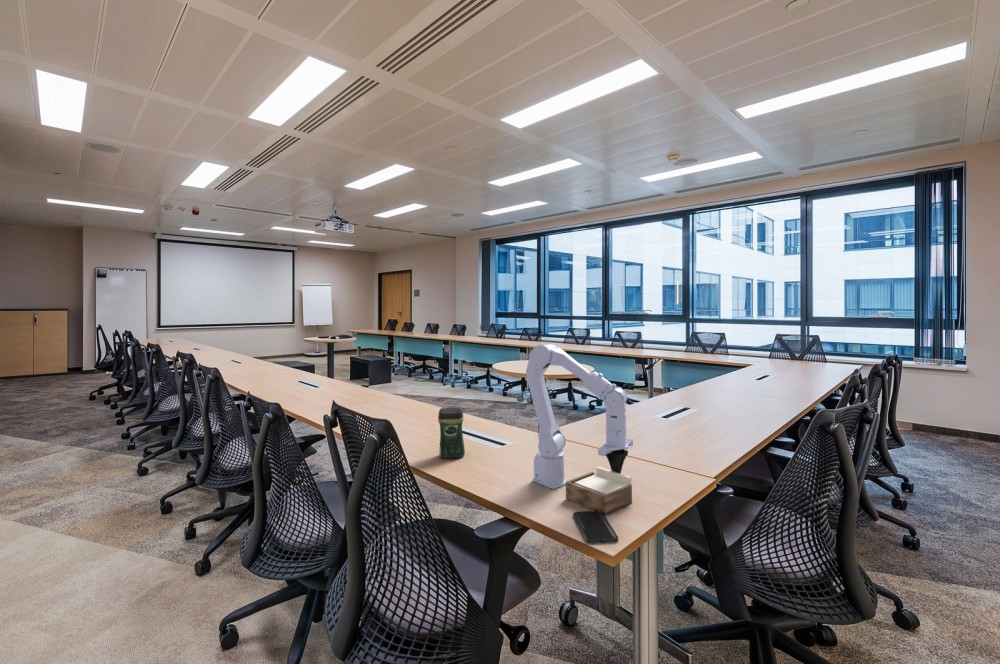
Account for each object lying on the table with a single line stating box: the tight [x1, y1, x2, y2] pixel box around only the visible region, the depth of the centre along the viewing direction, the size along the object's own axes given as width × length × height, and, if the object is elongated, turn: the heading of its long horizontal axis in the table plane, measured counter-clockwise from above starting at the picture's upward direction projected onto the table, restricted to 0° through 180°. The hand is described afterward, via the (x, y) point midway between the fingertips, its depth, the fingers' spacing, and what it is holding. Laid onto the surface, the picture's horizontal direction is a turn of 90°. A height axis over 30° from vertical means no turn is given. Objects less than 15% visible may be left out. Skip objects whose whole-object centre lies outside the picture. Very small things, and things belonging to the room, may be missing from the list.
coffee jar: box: [437, 407, 466, 460], centre depth 169 cm, size 10×8×19 cm
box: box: [565, 471, 633, 516], centre depth 127 cm, size 14×12×5 cm
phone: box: [572, 510, 619, 545], centre depth 111 cm, size 8×1×15 cm
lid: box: [575, 466, 633, 495], centre depth 128 cm, size 12×11×3 cm
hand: (616, 474), depth 132 cm, fingers closed
